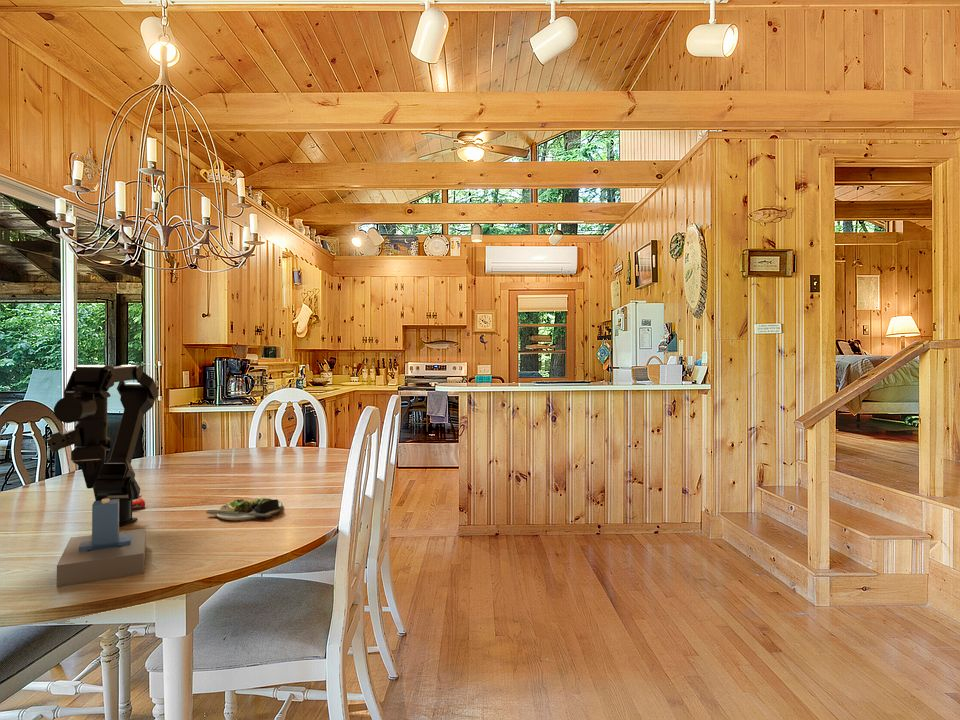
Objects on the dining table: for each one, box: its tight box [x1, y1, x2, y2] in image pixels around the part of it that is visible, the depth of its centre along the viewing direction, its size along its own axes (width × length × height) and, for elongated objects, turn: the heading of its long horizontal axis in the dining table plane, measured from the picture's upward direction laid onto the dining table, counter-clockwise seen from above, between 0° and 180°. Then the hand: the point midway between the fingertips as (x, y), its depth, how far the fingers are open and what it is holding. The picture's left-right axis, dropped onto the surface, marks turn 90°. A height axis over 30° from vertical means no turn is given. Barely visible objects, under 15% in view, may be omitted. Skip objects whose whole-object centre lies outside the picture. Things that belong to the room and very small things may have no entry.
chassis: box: [56, 528, 147, 587], centre depth 116 cm, size 18×14×4 cm
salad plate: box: [205, 497, 283, 522], centre depth 155 cm, size 19×18×5 cm
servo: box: [79, 498, 131, 551], centre depth 116 cm, size 4×9×14 cm, turn 119°
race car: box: [132, 495, 146, 511], centre depth 161 cm, size 13×5×4 cm, turn 46°
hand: (92, 484), depth 132 cm, fingers open, 9 cm apart
